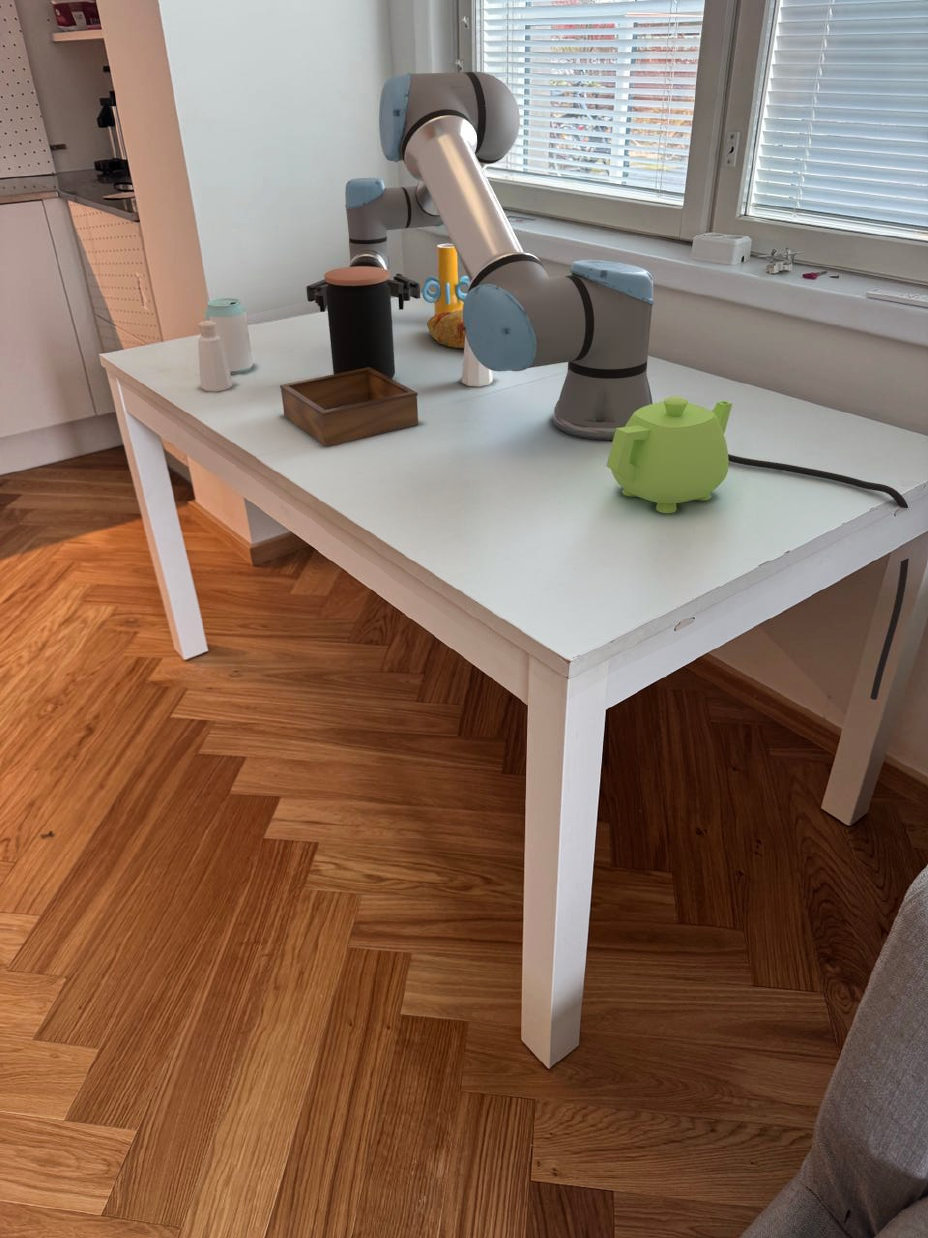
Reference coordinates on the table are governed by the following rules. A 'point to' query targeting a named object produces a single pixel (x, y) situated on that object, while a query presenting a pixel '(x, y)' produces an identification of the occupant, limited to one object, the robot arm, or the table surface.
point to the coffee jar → (360, 319)
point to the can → (232, 332)
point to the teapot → (671, 452)
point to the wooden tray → (342, 424)
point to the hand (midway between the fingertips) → (361, 302)
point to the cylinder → (446, 282)
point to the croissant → (448, 328)
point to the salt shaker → (212, 359)
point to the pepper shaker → (474, 369)
